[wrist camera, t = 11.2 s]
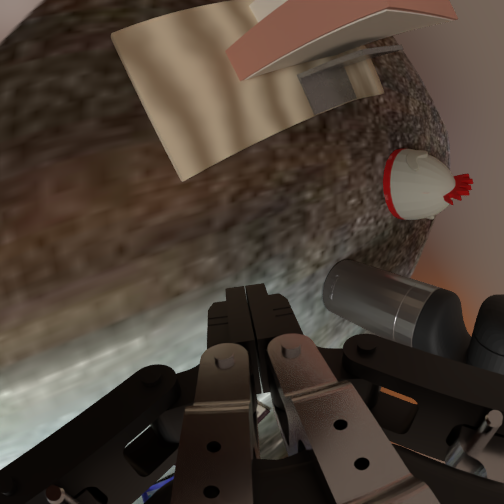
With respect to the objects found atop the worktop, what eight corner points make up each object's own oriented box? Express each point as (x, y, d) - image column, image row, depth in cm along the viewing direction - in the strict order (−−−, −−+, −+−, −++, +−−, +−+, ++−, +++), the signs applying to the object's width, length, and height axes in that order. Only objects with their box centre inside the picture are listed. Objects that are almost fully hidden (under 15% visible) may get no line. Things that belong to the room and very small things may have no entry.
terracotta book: (240, 82, 31) (390, 8, 12) (224, 51, 29) (359, -44, 11) (333, 56, 37) (458, 20, 18) (321, 31, 35) (441, -14, 16)
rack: (181, 181, 32) (198, 179, 27) (110, 37, 23) (115, 11, 18) (356, 98, 42) (384, 92, 37) (307, -4, 33) (331, -18, 28)
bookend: (314, 115, 37) (382, 100, 27) (296, 74, 35) (362, 49, 24) (355, 98, 40) (417, 87, 30) (340, 63, 38) (401, 44, 27)
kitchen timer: (424, 190, 56) (483, 197, 43) (398, 233, 53) (464, 247, 40) (404, 136, 50) (470, 135, 37) (373, 175, 47) (450, 179, 34)
